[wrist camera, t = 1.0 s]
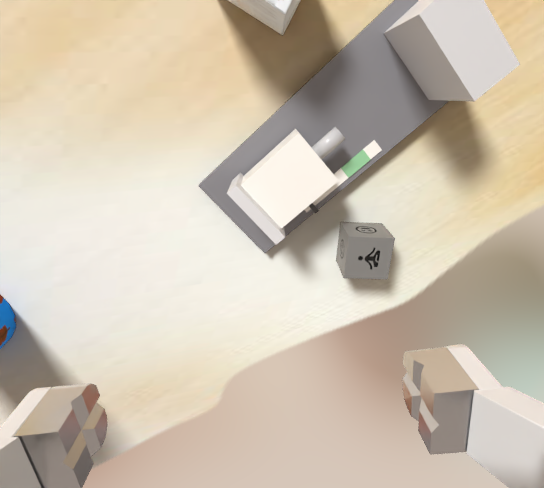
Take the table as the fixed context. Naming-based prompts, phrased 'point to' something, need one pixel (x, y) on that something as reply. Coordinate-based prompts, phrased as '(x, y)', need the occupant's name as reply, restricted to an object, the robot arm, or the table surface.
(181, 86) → the table surface
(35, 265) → the table surface
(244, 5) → the small box
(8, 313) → the thermos
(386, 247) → the dice cube
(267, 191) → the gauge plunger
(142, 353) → the table surface
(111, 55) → the table surface
